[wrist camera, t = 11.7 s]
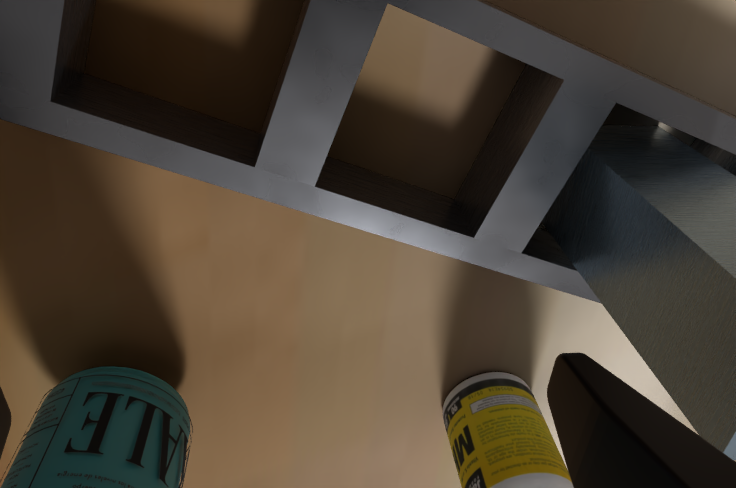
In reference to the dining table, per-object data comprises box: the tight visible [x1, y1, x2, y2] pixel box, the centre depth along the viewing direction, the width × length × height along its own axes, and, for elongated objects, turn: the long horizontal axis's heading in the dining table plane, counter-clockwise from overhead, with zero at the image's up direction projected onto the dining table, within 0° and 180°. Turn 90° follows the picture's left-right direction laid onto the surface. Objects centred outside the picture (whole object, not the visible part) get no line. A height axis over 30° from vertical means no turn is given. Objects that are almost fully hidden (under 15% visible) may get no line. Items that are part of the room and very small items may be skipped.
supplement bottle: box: [443, 372, 574, 488], centre depth 26 cm, size 5×5×8 cm
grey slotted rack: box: [0, 0, 736, 303], centre depth 19 cm, size 26×8×3 cm, turn 67°
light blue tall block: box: [541, 125, 736, 460], centre depth 18 cm, size 4×4×12 cm
